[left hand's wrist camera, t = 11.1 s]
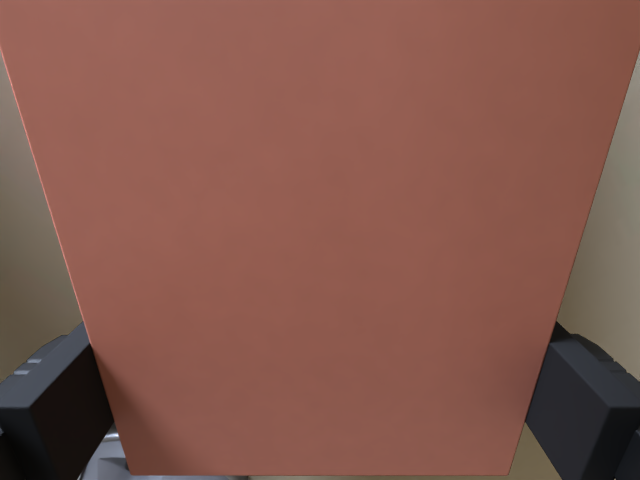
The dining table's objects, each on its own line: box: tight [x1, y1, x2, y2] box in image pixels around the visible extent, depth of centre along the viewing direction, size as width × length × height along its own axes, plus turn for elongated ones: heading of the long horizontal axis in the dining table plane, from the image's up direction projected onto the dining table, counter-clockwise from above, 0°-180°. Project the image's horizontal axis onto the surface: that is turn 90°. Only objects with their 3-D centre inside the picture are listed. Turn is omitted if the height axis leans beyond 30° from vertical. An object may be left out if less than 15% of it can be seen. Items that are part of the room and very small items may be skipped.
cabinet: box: [0, 0, 640, 476], centre depth 12 cm, size 17×12×11 cm, turn 0°
